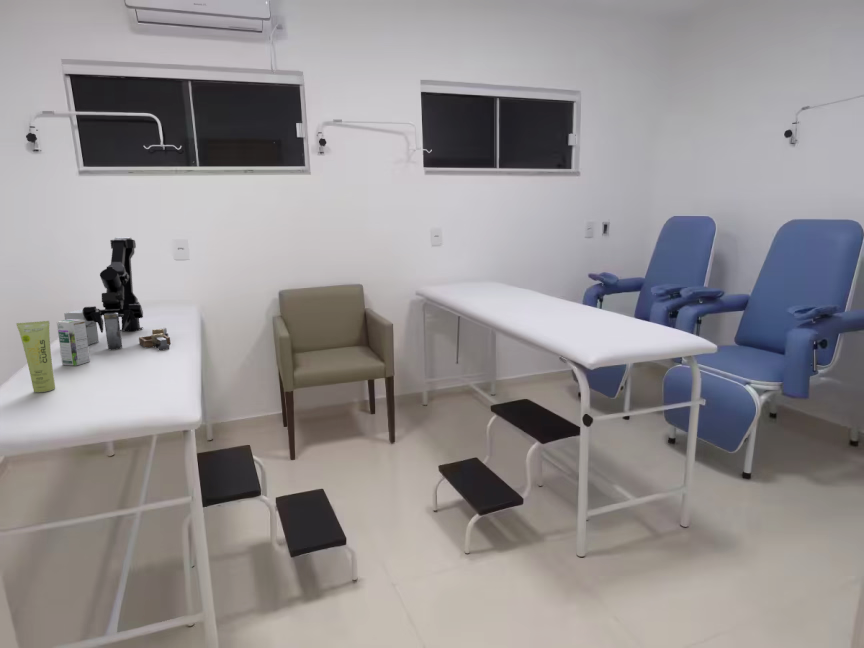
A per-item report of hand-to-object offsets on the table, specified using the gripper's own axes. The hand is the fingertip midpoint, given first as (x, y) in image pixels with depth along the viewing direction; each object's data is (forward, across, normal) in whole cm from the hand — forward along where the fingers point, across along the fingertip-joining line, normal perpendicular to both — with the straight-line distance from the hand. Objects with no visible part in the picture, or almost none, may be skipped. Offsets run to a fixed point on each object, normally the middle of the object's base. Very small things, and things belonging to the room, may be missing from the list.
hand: (112, 331), depth 195 cm
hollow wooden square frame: (+2, +13, +7) cm, 15 cm away
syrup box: (+18, -8, -8) cm, 21 cm away
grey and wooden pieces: (+2, +16, +8) cm, 17 cm away
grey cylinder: (+4, 0, +6) cm, 7 cm away
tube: (+38, -9, -29) cm, 49 cm away
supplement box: (-5, -13, +14) cm, 20 cm away
